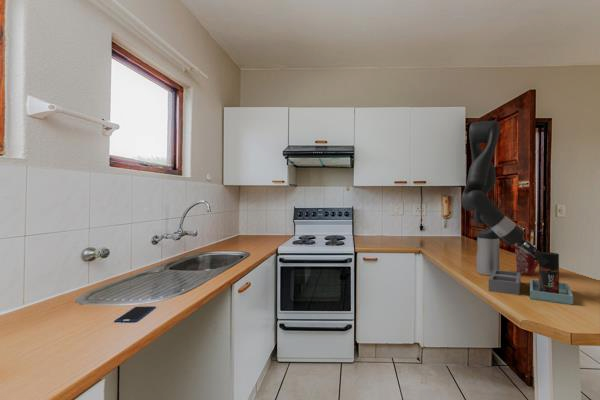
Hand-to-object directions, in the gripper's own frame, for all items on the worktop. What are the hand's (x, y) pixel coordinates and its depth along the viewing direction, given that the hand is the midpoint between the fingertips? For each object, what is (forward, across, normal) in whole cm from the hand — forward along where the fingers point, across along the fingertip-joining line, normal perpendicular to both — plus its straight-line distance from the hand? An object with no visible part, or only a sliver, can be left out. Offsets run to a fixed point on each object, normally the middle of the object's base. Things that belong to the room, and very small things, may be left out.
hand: (542, 260), depth 123 cm
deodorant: (+10, 0, +7) cm, 12 cm away
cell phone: (-83, -67, +101) cm, 147 cm away
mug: (+13, +36, +6) cm, 39 cm away
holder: (+2, +8, +16) cm, 18 cm away
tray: (+10, 0, +7) cm, 13 cm away
